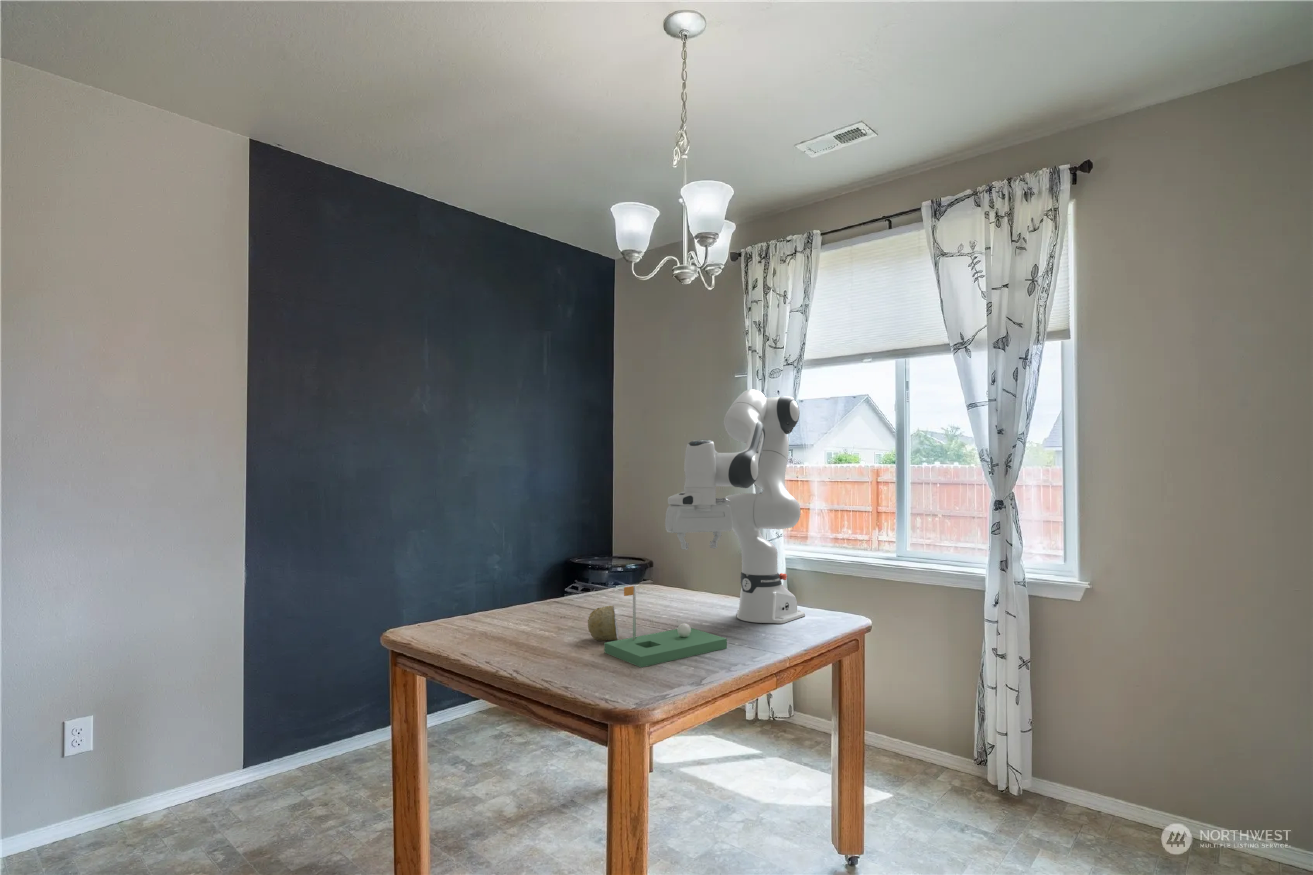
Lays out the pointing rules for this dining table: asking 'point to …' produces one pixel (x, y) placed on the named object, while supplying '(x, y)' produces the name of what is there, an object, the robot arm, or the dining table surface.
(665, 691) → the dining table surface
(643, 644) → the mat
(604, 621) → the coral
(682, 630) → the ball
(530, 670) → the dining table surface
